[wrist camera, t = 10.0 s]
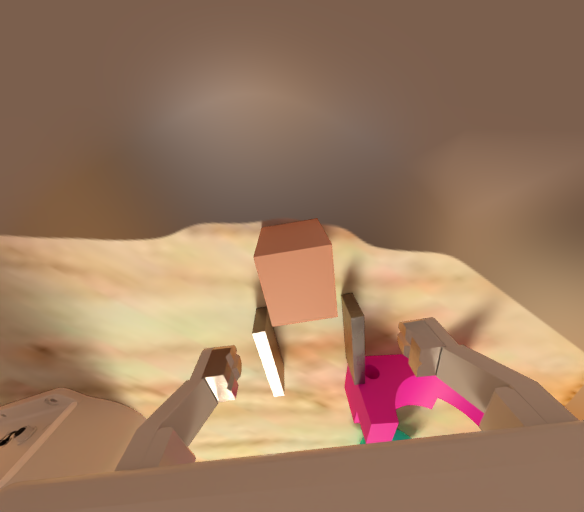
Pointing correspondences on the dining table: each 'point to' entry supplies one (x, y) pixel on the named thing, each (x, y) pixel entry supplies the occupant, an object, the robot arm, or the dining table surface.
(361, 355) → the guide channel
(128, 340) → the dining table surface
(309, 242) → the terracotta block
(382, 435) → the toy block
